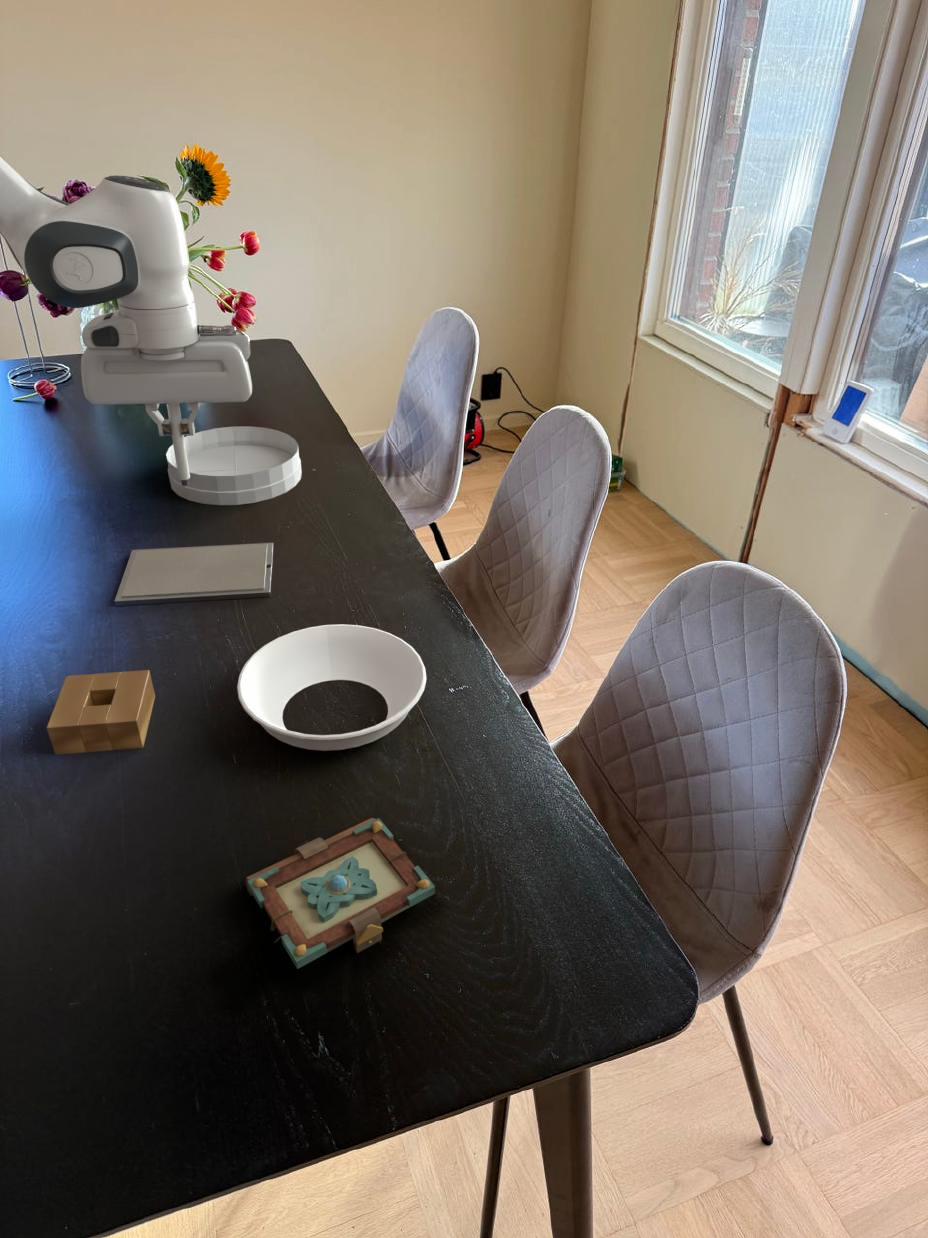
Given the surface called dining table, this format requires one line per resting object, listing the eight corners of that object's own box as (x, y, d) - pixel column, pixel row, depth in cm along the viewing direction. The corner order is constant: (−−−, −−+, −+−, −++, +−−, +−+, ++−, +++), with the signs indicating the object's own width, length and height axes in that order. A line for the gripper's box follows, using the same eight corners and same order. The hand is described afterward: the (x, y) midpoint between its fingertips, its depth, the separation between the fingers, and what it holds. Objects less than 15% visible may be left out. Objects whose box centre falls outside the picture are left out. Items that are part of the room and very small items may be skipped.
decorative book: (190, 926, 72) (181, 886, 69) (373, 836, 80) (371, 798, 78) (256, 1054, 63) (248, 1015, 60) (453, 938, 71) (455, 899, 69)
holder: (58, 765, 87) (46, 727, 85) (76, 711, 94) (66, 675, 92) (145, 757, 88) (136, 720, 86) (157, 705, 96) (149, 669, 93)
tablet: (115, 606, 112) (113, 599, 112) (133, 554, 124) (131, 548, 123) (270, 597, 115) (269, 590, 114) (273, 547, 127) (273, 541, 126)
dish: (166, 510, 136) (161, 481, 133) (172, 456, 154) (167, 430, 151) (307, 499, 140) (305, 470, 138) (297, 448, 158) (294, 422, 155)
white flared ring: (243, 797, 84) (235, 749, 81) (244, 677, 100) (237, 632, 97) (441, 772, 88) (442, 724, 84) (411, 660, 104) (411, 616, 100)
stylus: (179, 487, 115) (165, 399, 108) (180, 482, 116) (166, 395, 109) (190, 486, 115) (177, 399, 108) (191, 482, 116) (178, 395, 109)
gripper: (249, 318, 108) (259, 423, 116) (78, 319, 105) (101, 427, 112) (246, 332, 103) (258, 441, 110) (67, 333, 100) (91, 445, 107)
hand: (177, 434), depth 111 cm, fingers closed on stylus, 1 cm apart
